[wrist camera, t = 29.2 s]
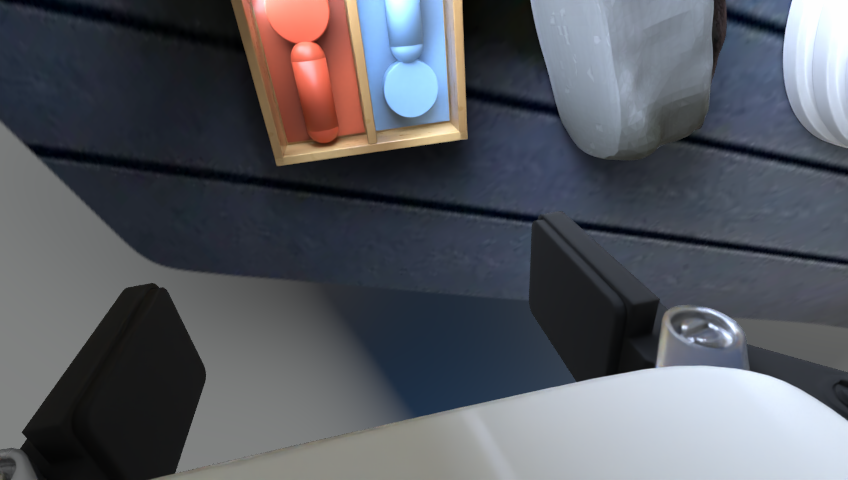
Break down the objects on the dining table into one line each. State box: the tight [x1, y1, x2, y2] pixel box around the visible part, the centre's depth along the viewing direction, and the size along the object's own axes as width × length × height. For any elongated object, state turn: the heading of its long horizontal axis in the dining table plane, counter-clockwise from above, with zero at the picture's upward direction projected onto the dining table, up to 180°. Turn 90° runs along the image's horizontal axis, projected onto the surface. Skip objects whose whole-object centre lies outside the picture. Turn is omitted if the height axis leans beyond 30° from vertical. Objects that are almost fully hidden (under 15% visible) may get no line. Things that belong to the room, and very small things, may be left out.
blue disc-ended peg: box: [382, 0, 438, 118], centre depth 28 cm, size 10×4×2 cm, turn 5°
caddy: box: [231, 0, 468, 166], centre depth 28 cm, size 13×13×3 cm
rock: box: [531, 0, 727, 160], centre depth 28 cm, size 18×11×8 cm, turn 23°
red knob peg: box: [265, 0, 339, 143], centre depth 28 cm, size 10×4×2 cm, turn 5°
